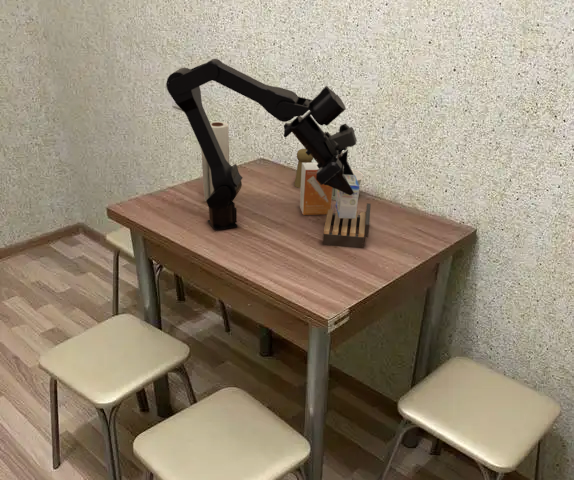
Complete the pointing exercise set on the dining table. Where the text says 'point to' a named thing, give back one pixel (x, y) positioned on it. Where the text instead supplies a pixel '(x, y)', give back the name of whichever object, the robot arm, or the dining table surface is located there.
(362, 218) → the rack
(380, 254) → the dining table surface
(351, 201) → the medicine box
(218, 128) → the paper towel roll
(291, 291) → the dining table surface
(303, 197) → the small box
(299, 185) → the brown pawn figure
